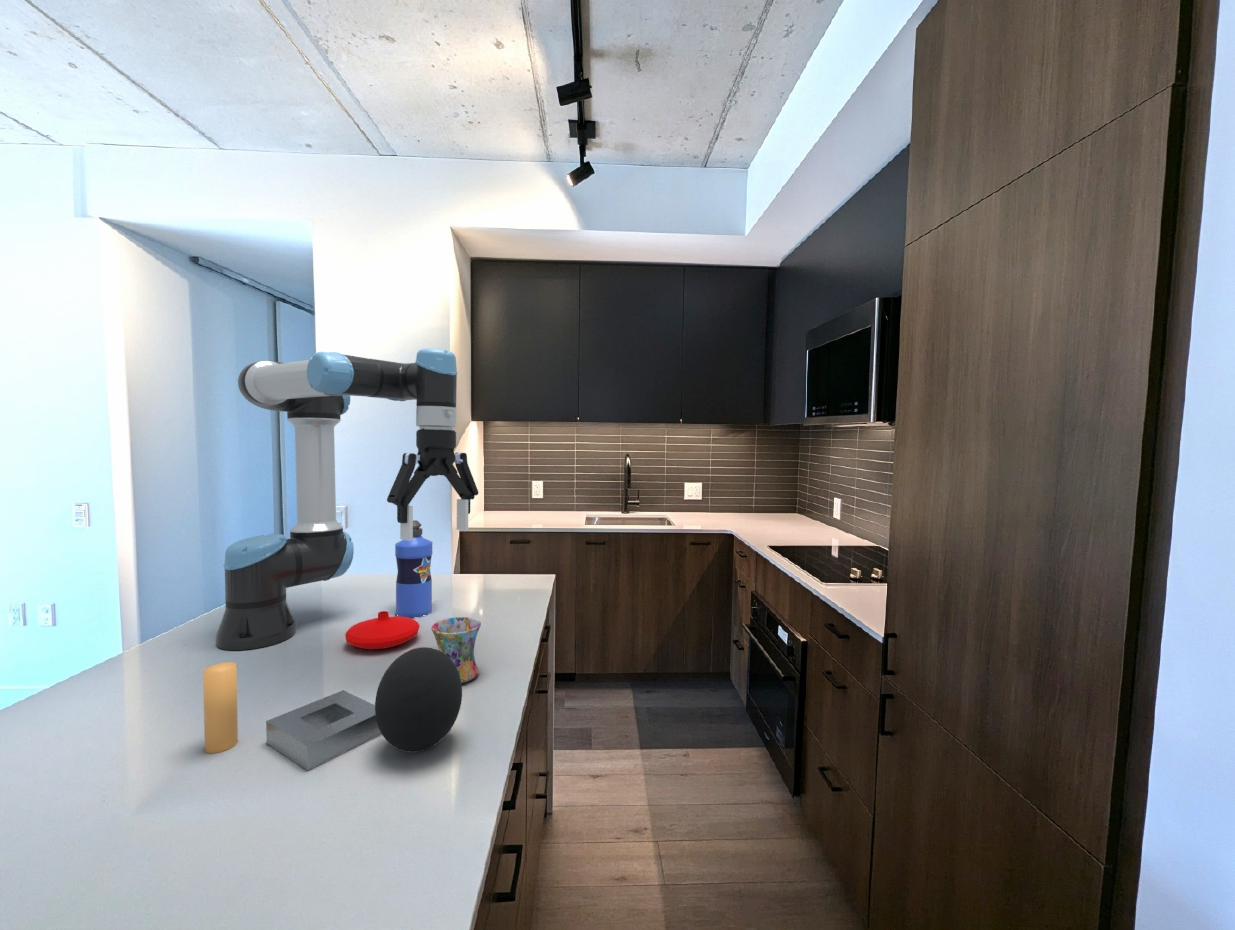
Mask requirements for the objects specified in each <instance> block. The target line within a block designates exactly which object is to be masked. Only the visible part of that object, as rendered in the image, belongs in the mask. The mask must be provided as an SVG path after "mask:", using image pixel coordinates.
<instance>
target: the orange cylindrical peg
mask: <svg viewBox="0 0 1235 930" xmlns="http://www.w3.org/2000/svg"><path fill="white" fill-rule="evenodd" d="M237 665H238V664H237V663H236V662H233V661H227V662H226V661H225V662H219V663H214V664H212V665H209V666H207V667H205V668H204V669H203V671H202V674H203V675H202V676H203V677H202V679H203V686H202V687H203V718H204V719H203V723H204V724H203V726H204V727H203V730H204V731H203V733H204V736H203V737H204V752H205V753H206V754H218V753H222V752H226V751H228V750H230V749H232V748H234V747H235V746H236V745H237V744H238V742H239V737H238V736H239V735H238V734H239V732H238V731H239V730H238V727H239V724H238V673H237V672H238V671H237Z"/></svg>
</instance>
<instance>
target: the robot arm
mask: <svg viewBox="0 0 1235 930" xmlns="http://www.w3.org/2000/svg"><path fill="white" fill-rule="evenodd" d="M415 358H416V359H415V362H410V363H409V362H407V363H406V362H405V363H404V362H396V361H389V360H382V359H375V358H367V357H361V356H354V355H350V354H345V353H344V354H343V353H340V352H333V351H331V352H330V351H329V352H326V351H317V352H315V353H314V354H313V355H312V357H310V358H309V359H304V360H298V361H297V360H296V361H291V362H290V361H289V362H280V361H269V360H263V361H257V362H252V363H250V364H248V365H246V366H245V367H243V369H242V370H241V371H240V373H239V374H238V378H237V387H238V389H239V390H238V391H239V392H240V394H241V395H242V396H243V397H244V399H245V400H246V401H247V402H249V404H250V403H251V404H252V405H254V406H256V407H257V408H261V409H263V410H268V411H273V412H274V411H276V412H286V416H287V417H286V419H287V421H288V422H289V423H290V424H291V425H292V426H293V427H294V443H295V445H294V446H295V447H294V449H295V451H294V452H295V491H296V492H295V494H296V497H295V498H296V523H295V524H294V526H292V528H290V531H289V538H286V536H285V535H284V534H282V533H281V534H280V533H270V534H266V535H265V534H261V535H256V536H251V537H247V538H244V539H243V538H242V539H239V540H237V541H234V542H233V543H231V544H230V545H228V546H227V548H226V550H225V553H224V554H225V555H224V564H223V569H224V591H225V593H224V599H225V610H224V613H223V616H222V618H221V621H220V624H219V626H218V629H217V632H216V636H215V639H216V640H215V641H216V644H215V645H216V647H217V648H219V649H222V650H225V651H226V650H227V651H245V650H246V651H247V650H252V649H259V648H264V647H268V646H271V645H272V646H273V645H275V644H279V643H281V642H284V641H286V640H288V639H290V638H292V637H293V636H294V635H295V633H296V621H295V620H294V619H295V618H294V616H293V614H292V611H291V609H290V608H289V604H288V602H287V589H288V588H292V587H297V586H303V585H308V584H312V583H317V582H325V581H329V580H331V579H334V578H339V577H341V576H343V575H344V574H345V573H346V572H348V570H349V568H350V567H351V565H352V562H353V559H354V552H355V550H354V542H353V541H352V536H351V535H350V534H349V533H348V532H346V531H344V526H343V525H342V524H341V523H340V522H339V521H337V503H336V500H337V499H336V457H335V455H336V454H335V453H336V452H335V449H336V448H335V428H336V426H337V425H338V424H339V423H341V421H342V419H341V415H344V414H346V413H347V411H349V407H350V405H351V396H353V397H354V396H355V397H367V398H375V399H386V400H389V401H396V402H398V401H399V402H406V401H413V400H415V401H416V403H415V404H416V405H415V406H416V408H415V409H416V411H415V414H416V415H415V426H416V427H419V428H418V429H417V430H416V433H415V438H416V439H415V442H416V443H415V444H416V445H415V446H416V448H417V453H416V454H415V453H414V452H413V453H412V452H405V453H403V454H402V458H401V459H402V460H401V465H400V468H399V470H398V472H397V475H396V477H395V479H394V480H393V483H392V487H391V489H390V490H389V493H388V496H387V498H386V502H387V503H390V504H392V505H395V506H396V512H397V513H396V514H397V516H396V517H397V518H396V520H397V523H398V524H400V525H399V526H400V527H399V530H400V531H399V532H400V534H399V539H400V540H407V541H411V540H413V521H414V506H413V505H410V503H411V502H412V501H413V499H414V497H415V496H416V494H417V493H418V492H419V490H420V489H421V487H422V486H423V485H424V483H425V481H427V479H429V478H430V477H431V476H432V477H437V476H444V477H445V478H446V480H447V481H448V483H449V484H450V485H451V487H452V488H453V489H454V491H455V492H456V494H457V495H458V496H459V498H456V530H457V531H464V532H467V531H469V515H470V513H471V500H474V499H475V498H476V497H475V496H478V495H479V489H478V487H477V484H476V482H475V479H474V477H473V474H472V471H471V469H470V466H469V463H468V456H467V455H468V454H467V453H466V452H454V450H455V448H456V447H457V432H456V430H454V428H456V427H457V382H458V380H457V379H458V371H457V357H456V355H455V354H454V352H452V351H450V350H447V349H440V348H423V349H422V348H420V349H419V350H418V351H417V352H416V357H415ZM417 464H418V466H417V468H415V467H416V465H417ZM454 464H455V465H454Z"/></svg>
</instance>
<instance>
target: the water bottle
mask: <svg viewBox="0 0 1235 930" xmlns="http://www.w3.org/2000/svg"><path fill="white" fill-rule="evenodd" d="M421 526H422V523H420V521H418V520H415V519H413V540H411V541H407V540H402V539H400V541H397V542H396V543H395V545H394V546H395V547H394V551H395V553H394V557H395V560H396V567H397V569H396V570H397V574H396V579H395V580H396V581H395V615H398V616H400V617H408V618H412V619H415V618H414V617H419V618H421V617H420V616H423V615H426V616H429V615H430V614H432V612H433V611H432V610H433V607H432V606H433V603H432V602H433V601H432V600H433V583H432V582H433V581H432V580H433V579H432V574H431V564H432V556H433V541H432V540H429V539H427V538H425V537H423V536H422V535H423V528H421ZM431 611H432V612H431ZM429 613H430V614H429ZM428 614H429V615H428ZM423 617H424V616H423Z"/></svg>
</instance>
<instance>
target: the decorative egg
mask: <svg viewBox="0 0 1235 930" xmlns="http://www.w3.org/2000/svg"><path fill="white" fill-rule="evenodd" d="M375 694H376V695H375V700H374V705H375V714H376V721H377V724H378V727H379V730H380V732H381V734H380V735H382V737H383V738H384V739H385V741H386V742H387V743H389V745H390V746H392V747H394V748H395V749H397V750H399V751H402V752H407V753H417V752H422V751H425V750H428V749H430V748H432V747H434V746H436V745H437V744H439V743H440V742H441V741H442V740H443V739H444V738H445V737H446V736H447V735H448V734H449V733H450V731H451V729H452V728H453V727H454V725H455V723H456V721H457V719H458V716H459V713H460V710H461V706H462V699H463V683H461V678H460V675H459V672H458V670H457V668H456V666H455V664H454V663H453V661H452V660H451V659H450V658H449V657H448V656H447V655H446V654H444V653H443V652H441V651H439V650H438V648H437V649H436V648H433V647H416V648H412V649H410V650H408V651H406V652H404V653H403V654H402V653H401V654H400V655H399V656H398V657H397V658H395V659H394V660H393V661H392V663H390V665H389V666H388V667H387V669H386V670H385V672H384V673H383V675H382V677H381V679H380V681H379V683H378V687H377V690H376V693H375Z"/></svg>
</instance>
